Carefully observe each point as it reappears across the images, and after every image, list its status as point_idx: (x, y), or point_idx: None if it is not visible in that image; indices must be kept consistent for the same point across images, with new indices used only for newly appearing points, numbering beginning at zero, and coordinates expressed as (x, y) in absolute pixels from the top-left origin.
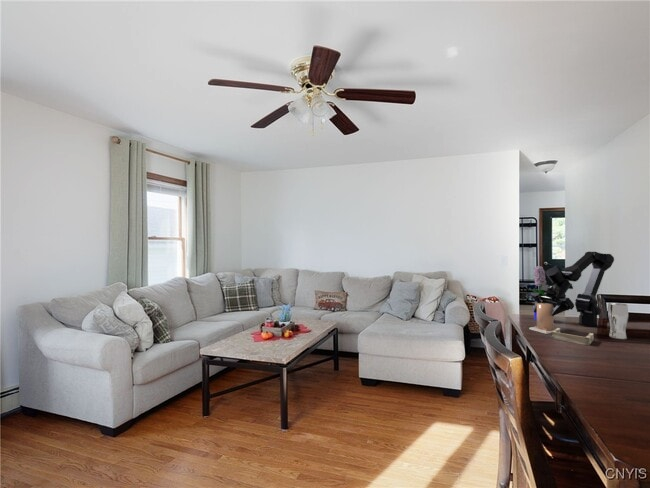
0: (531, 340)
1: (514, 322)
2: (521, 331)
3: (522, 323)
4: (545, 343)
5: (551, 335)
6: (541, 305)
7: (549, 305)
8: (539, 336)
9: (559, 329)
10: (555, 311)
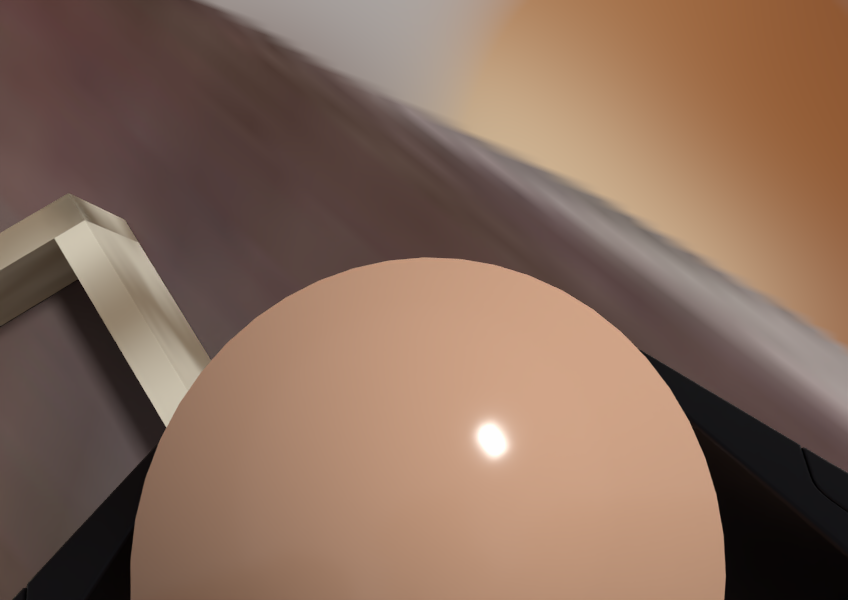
0: (137, 3)
1: (823, 342)
2: (438, 136)
3: (767, 403)
4: (20, 51)
5: (98, 207)
6: (326, 284)
7: (159, 519)
8: (231, 172)
9: (159, 409)
10: (97, 533)
